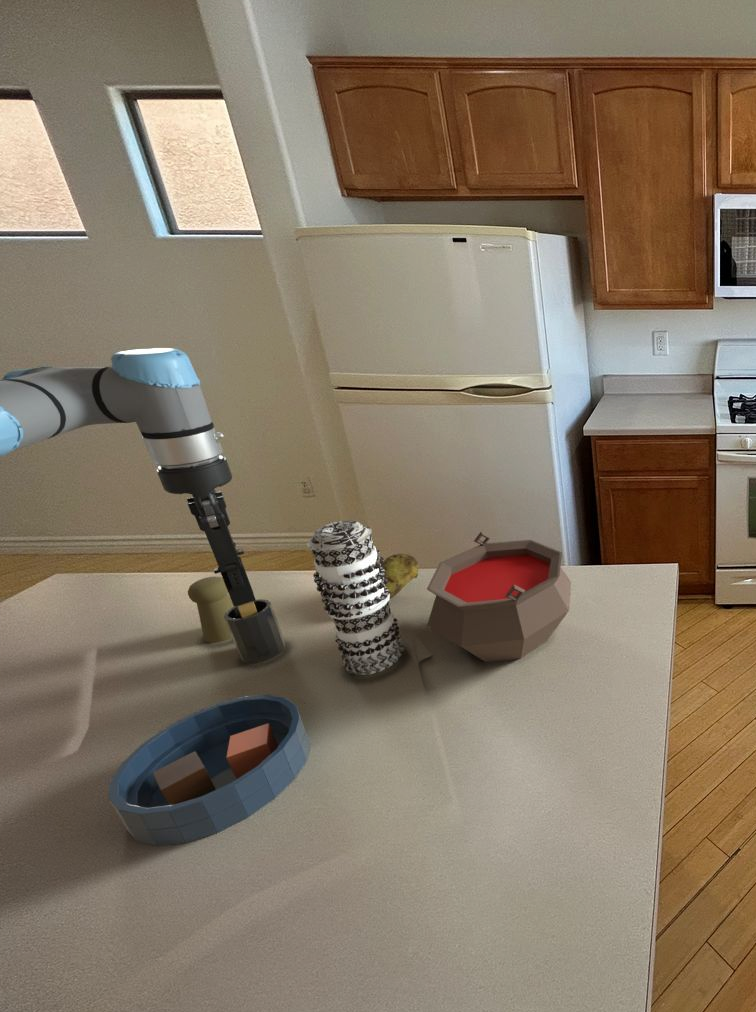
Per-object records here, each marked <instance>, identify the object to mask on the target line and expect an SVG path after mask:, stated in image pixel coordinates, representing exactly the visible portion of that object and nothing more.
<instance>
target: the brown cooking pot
mask: <svg viewBox="0 0 756 1012" xmlns="http://www.w3.org/2000/svg"><path fill="white" fill-rule="evenodd" d="M482 537H483V538H485V539H484V540H483V541H482V540H481V538H482ZM491 538H492V536H491V535H489V534H488V533H485V532H484V531H481V530H480V532H479V533H478V534H477V536H476V537H475V538H474V540H473V542H474V543H477V544H479V545H477V546H473V547H472V548H470V549H467V550H466V551H463V552H461V553H458V554H456V555H454V556H451V557H449V558H447V559H445V560H443V561H441V562H439V563H438V566H437V567H436V569H435V572H434V574H433V576H432V577H431V578H430V579H431V580H430V582H429V584H428V585H427V587H426V590H427V591H428V592H430V593H431V594H432V595H434V596H435V598H434V601H433V605H432V608H431V611H430V614H429V617H428V621H427V625H426V626H427V627H428V628H430V629H432V630H433V631H435V632H437V633H438V634H439V635H441V636H443V637H444V638H446V639H448V640H449V641H451V642H452V643H454V644H455V645H457V646H459V647H460V648H462V649H464V650H465V651H467V652H469V653H470V654H471V655H473V656H475V657H477V658H478V659H479V660H481V661H483V662H485V663H494V662H504V661H512V660H521V659H523V658H524V657H526V656H527V655H529V654H530V653H532V652H533V651H535V650H536V649H537V648H539V647H541V646H542V645H544V644H545V643H546V642H548V641H549V639H550V638H551V636H552V635H553V633H555V631H556V629H557V628H558V627H559V625H560V624H561V622H562V621H563V620H564V619H565V617H566V616H567V615H568V613H569V611H570V601H571V589H572V581H571V580H570V578H569V577H568V575H567V574H566V572H565V571H564V570H563V568H562V558H563V551H560V550H557V549H555V548H553V547H550V546H548V545H545V544H542V543H540V542H538V541H535V540H533V539H523V540H512V541H511V540H510V541H499V542H498V541H497V542H489V540H491Z"/></svg>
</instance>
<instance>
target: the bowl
mask: <svg viewBox="0 0 756 1012" xmlns="http://www.w3.org/2000/svg"><path fill="white" fill-rule="evenodd" d="M267 723H269V724H270V727H271V729H272V732H273V734H274V737H275V739H276V742H277V744H278V748H277V749H276V750H275V751H274V752H273V753H271V754H270V755H269V756H268V757H267V758H266V759H265V760H264V761H262V762H261V763H260V764H259V765H258V766H257V767H255V768H254V769H252V770H250V771H249V772H247V773H246V774H244V775H243V776H241V777H240V778H238V779H236V778H235V776H234V773H233V771H232V769H231V767H230V765H229V762H228V760H227V758H226V757H227V751H228V746H229V740H230V736H232V735H235V734H238V733H241V732H244V731H247V730H250V729H253V728H256V727H259V726H262V725H265V724H267ZM310 749H311V742H310V739H309V736H308V733H307V729H306V728H305V725H304V723H303V720H302V717H301V714H300V711H299V709H298V706H297V704H296V703H294V702H292V701H291V700H290V699H288V698H286V697H284V696H278V695H272V694H261V695H259V694H258V695H248V696H247V695H246V696H240V697H237V698H233V699H229V700H224V701H221V702H217V703H216V704H212V705H210V706H208V707H205V708H202V709H200V710H197V711H194V712H192V713H190V714H188V715H186V716H184V717H182V718H180V719H179V720H177V721H175V722H173V723H171V724H169V725H167V726H166V727H164V728H163V729H161V730H159V731H158V732H157V733H156V734H154V735H153V736H151V737H150V738H149V739H147V740H145V741H144V742H142V743H141V744H140V745H139V746H138V747H136V749H134V751H133V752H132V753H131V754H129V755H128V757H126V758H125V760H124V761H122V762H121V764H120V765H119V766H118V768H117V770H116V771H115V773H114V774H113V776H112V777H111V779H110V780H109V783H108V784H109V785H108V801H109V803H110V805H111V807H112V808H113V809H114V811H115V813H116V815H117V816H118V818H119V819H120V821H121V823H122V824H123V826H124V828H125V830H126V831H127V832H128V833H129V834H130V835H131V837H132V838H133V839H134V840H135V841H136V842H138V843H141V844H146V845H151V846H155V847H163V846H172V845H173V846H174V845H181V844H186V843H191V842H192V841H193V842H194V841H197V840H199V839H202V838H206V837H209V836H212V835H215V834H217V833H220V832H222V831H224V830H226V829H228V828H230V827H232V826H234V825H235V824H236V825H237V823H240V822H241V821H244V820H246V819H248V818H249V817H251V816H253V815H254V814H255V813H256V812H258V811H260V810H261V809H262V808H264V807H265V806H267V805H269V803H271V802H272V801H274V800H275V799H276V798H277V797H278V796H279V795H280V794H281V793H282V792H284V791H285V789H286V788H287V787H288V786H289V785H291V784H292V783H293V782H294V780H296V778H297V777H298V775H299V773H300V772H301V771H302V769H303V767H304V766H305V764H306V763H307V761H308V757H309V753H310ZM194 751H196V753H197V754H198V756H199V758H200V759H201V761H202V763H203V764H204V766H205V768H206V770H207V772H208V774H209V776H210V778H211V780H212V782H213V785H214V787H215V789H216V790H215V791H212V792H210V793H208V794H206V795H204V796H201V797H198V798H195V799H191V800H188V801H185V802H181V803H178V804H175V805H170V806H168V804H167V802H166V800H165V798H164V796H163V794H162V793H161V791H160V789H159V787H158V785H157V783H156V781H155V779H154V776H153V774H152V773H153V772H155V771H157V770H159V769H161V768H163V767H165V766H167V765H169V764H171V763H172V762H174V761H176V760H178V759H180V758H182V757H184V756H186V755H188V754H190V753H192V752H194Z"/></svg>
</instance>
